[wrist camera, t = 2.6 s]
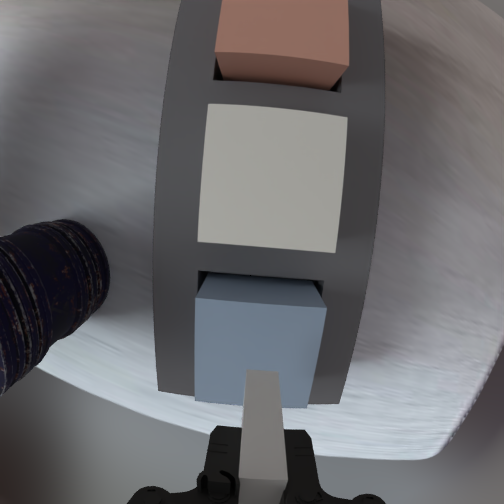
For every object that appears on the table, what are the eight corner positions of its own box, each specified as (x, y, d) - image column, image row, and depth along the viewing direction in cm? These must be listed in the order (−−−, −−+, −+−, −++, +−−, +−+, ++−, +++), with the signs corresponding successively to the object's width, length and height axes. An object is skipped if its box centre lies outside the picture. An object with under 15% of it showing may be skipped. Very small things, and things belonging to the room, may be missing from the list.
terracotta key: (224, 80, 19) (214, 51, 14) (234, 0, 17) (229, -39, 12) (328, 91, 19) (348, 65, 14) (330, 10, 17) (346, -26, 12)
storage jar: (21, 233, 25) (-91, 269, 11) (92, 203, 25) (-37, 228, 10) (51, 324, 27) (-39, 398, 13) (125, 309, 27) (34, 406, 12)
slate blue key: (205, 360, 23) (194, 400, 18) (208, 272, 21) (195, 297, 16) (298, 367, 23) (306, 408, 18) (311, 280, 21) (327, 307, 16)
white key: (211, 228, 21) (197, 241, 16) (219, 122, 19) (208, 103, 14) (317, 237, 21) (335, 253, 16) (326, 132, 19) (347, 117, 14)
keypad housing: (175, 353, 28) (158, 390, 22) (201, 5, 21) (188, -31, 15) (325, 365, 28) (338, 403, 22) (357, 20, 21) (379, -12, 15)
